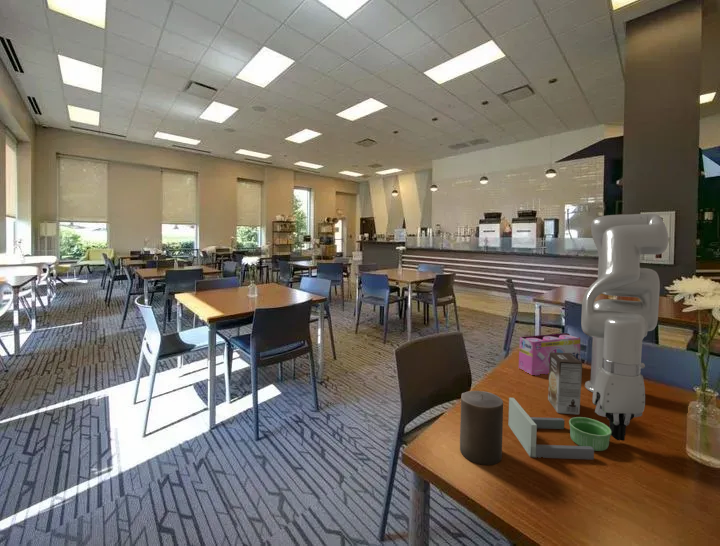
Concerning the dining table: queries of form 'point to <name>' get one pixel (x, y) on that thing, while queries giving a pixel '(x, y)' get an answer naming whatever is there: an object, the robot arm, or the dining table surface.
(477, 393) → the pillar candle
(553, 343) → the gum box
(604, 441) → the ramekin
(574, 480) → the dining table surface
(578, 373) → the coffee box
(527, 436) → the display stand
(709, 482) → the dining table surface
